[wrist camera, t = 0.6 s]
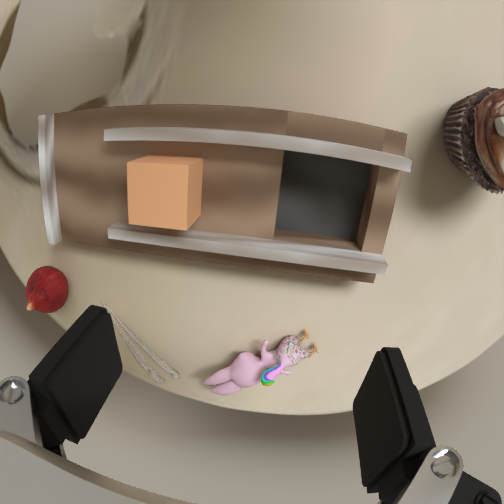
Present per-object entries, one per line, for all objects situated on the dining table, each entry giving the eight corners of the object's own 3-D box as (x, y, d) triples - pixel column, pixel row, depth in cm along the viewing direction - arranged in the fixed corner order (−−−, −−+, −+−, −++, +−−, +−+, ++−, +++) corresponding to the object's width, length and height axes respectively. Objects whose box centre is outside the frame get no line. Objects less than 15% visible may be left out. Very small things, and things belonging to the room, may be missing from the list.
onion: (45, 251, 34) (8, 280, 27) (77, 262, 34) (39, 295, 27) (50, 287, 36) (17, 318, 29) (80, 299, 36) (48, 334, 29)
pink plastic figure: (297, 311, 35) (193, 363, 37) (307, 341, 29) (187, 395, 31) (319, 346, 37) (220, 391, 39) (330, 377, 31) (218, 424, 33)
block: (148, 155, 25) (127, 162, 21) (203, 157, 24) (188, 165, 21) (148, 209, 27) (128, 224, 23) (200, 214, 26) (186, 230, 23)
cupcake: (417, 122, 23) (475, 129, 14) (475, 74, 20) (538, 69, 11) (463, 199, 26) (520, 235, 16) (515, 150, 22) (575, 170, 13)
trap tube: (65, 112, 26) (35, 116, 22) (395, 132, 24) (416, 135, 19) (70, 229, 32) (45, 246, 28) (366, 268, 30) (378, 294, 25)
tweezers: (183, 372, 40) (179, 382, 38) (161, 379, 42) (156, 388, 40) (107, 274, 36) (98, 280, 34) (88, 287, 38) (80, 294, 36)
